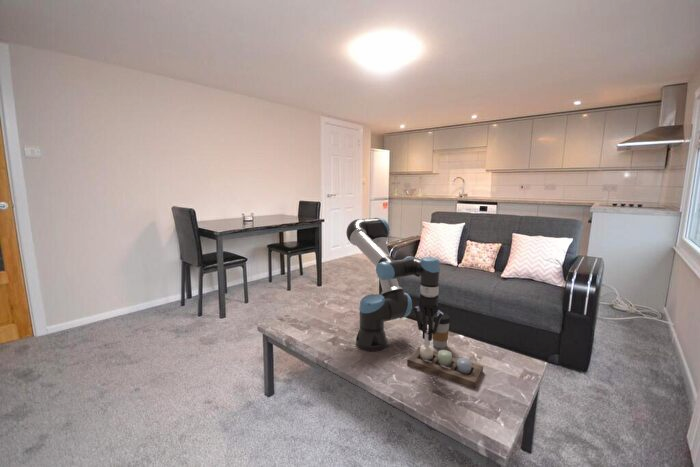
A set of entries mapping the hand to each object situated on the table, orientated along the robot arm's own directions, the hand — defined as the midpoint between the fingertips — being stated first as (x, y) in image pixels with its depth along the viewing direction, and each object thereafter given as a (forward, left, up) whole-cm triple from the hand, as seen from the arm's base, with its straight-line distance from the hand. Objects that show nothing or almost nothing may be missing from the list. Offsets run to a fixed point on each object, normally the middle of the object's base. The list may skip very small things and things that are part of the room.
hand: (427, 346), depth 139 cm
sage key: (+8, 0, -5) cm, 9 cm away
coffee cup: (0, +18, -8) cm, 19 cm away
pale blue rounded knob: (+16, 0, -6) cm, 17 cm away
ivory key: (0, 0, -5) cm, 5 cm away
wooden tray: (+8, 0, -8) cm, 11 cm away
